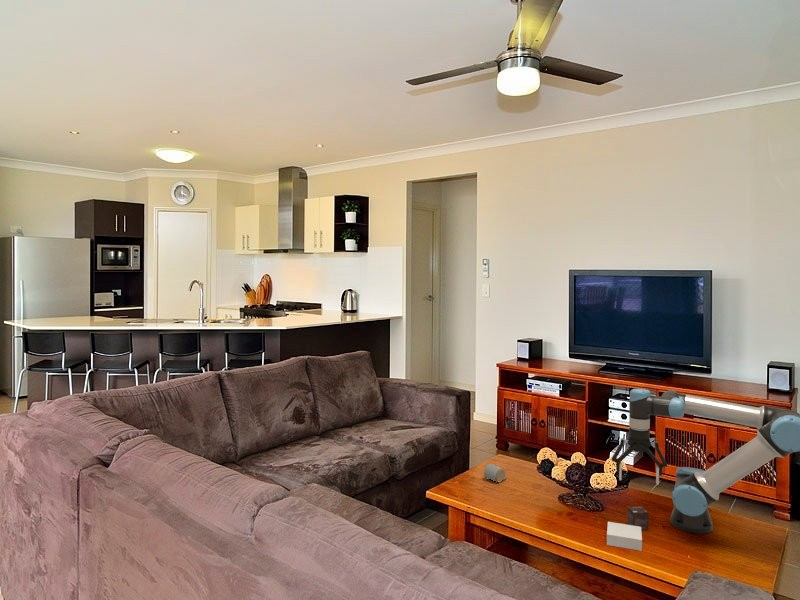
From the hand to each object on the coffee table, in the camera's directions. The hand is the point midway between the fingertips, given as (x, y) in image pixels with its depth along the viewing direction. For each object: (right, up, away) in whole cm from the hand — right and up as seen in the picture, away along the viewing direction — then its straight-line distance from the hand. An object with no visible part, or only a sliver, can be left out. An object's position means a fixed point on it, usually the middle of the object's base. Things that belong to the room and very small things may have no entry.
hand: (638, 481), depth 222 cm
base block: (-10, -19, -11) cm, 24 cm away
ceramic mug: (-47, -17, +53) cm, 73 cm away
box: (0, -19, +1) cm, 19 cm away
